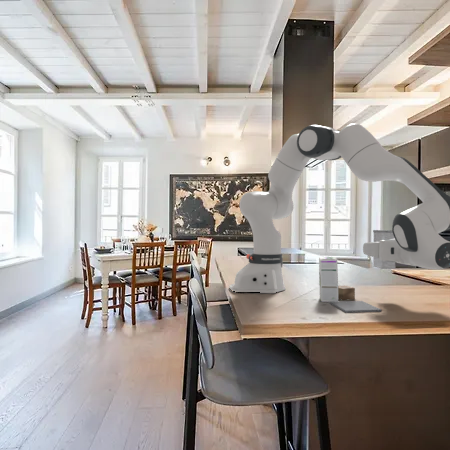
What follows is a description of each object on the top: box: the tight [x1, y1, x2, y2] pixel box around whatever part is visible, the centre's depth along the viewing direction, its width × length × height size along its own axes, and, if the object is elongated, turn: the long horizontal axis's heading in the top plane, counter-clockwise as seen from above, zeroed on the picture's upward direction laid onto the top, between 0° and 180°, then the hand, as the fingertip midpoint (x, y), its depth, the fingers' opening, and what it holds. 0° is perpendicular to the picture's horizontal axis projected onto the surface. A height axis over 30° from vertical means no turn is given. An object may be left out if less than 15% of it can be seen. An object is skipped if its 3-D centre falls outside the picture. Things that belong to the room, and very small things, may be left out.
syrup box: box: [318, 256, 339, 303], centre depth 110 cm, size 6×6×14 cm
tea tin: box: [372, 229, 396, 270], centre depth 113 cm, size 5×5×13 cm
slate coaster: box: [329, 300, 382, 314], centre depth 100 cm, size 11×11×1 cm
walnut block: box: [338, 284, 356, 301], centre depth 114 cm, size 5×5×4 cm
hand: (381, 247), depth 115 cm, fingers closed on tea tin, 5 cm apart
